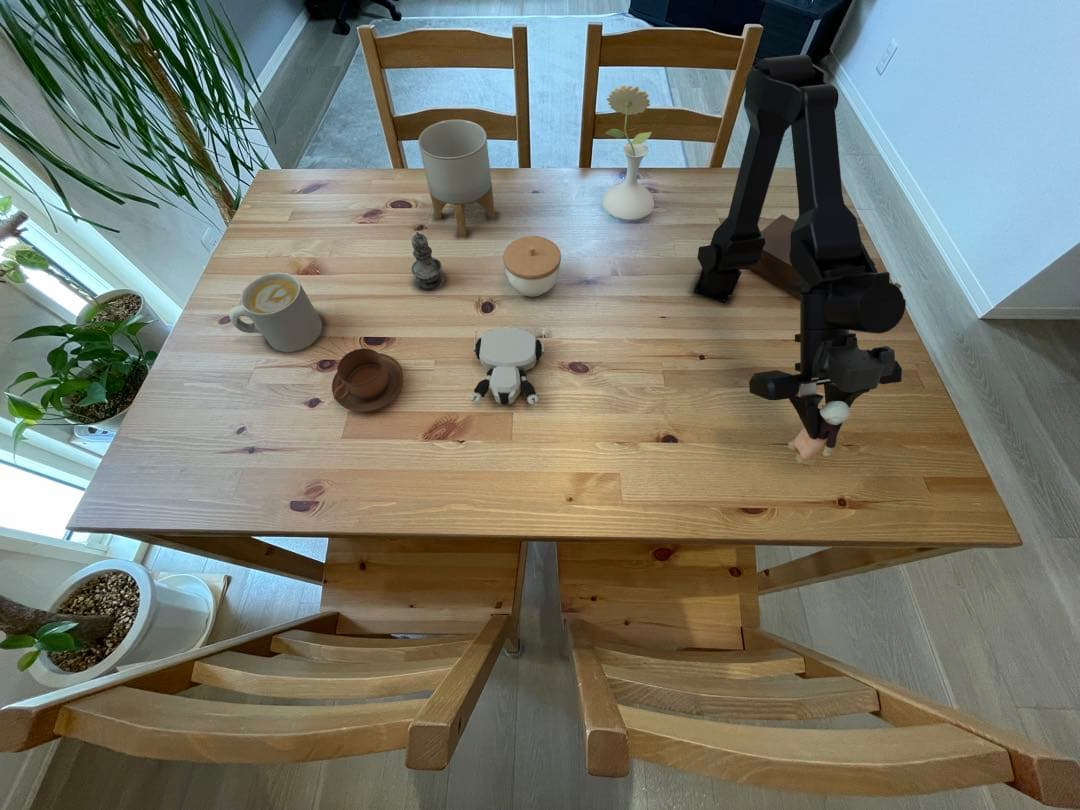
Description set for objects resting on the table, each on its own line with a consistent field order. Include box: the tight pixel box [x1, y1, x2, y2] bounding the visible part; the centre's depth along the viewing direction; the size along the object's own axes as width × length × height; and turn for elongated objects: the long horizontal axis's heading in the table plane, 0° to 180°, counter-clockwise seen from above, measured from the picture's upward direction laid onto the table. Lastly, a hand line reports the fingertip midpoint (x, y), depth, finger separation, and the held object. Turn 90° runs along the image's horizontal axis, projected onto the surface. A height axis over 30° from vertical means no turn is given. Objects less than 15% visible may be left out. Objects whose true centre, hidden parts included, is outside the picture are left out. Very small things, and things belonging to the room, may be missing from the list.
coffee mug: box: [229, 271, 323, 353], centre depth 91 cm, size 13×10×10 cm
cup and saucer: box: [331, 347, 404, 413], centre depth 86 cm, size 12×12×6 cm
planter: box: [417, 119, 496, 237], centre depth 105 cm, size 13×13×18 cm
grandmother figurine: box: [787, 401, 851, 466], centre depth 73 cm, size 8×4×13 cm, turn 25°
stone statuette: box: [410, 231, 444, 292], centre depth 97 cm, size 6×6×12 cm
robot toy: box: [469, 326, 545, 406], centre depth 88 cm, size 12×4×15 cm
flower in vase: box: [601, 84, 655, 222], centre depth 102 cm, size 13×11×25 cm
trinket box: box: [502, 235, 562, 298], centre depth 97 cm, size 11×11×9 cm
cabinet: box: [749, 214, 802, 300], centre depth 100 cm, size 14×12×6 cm
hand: (823, 437), depth 72 cm, fingers closed on grandmother figurine, 3 cm apart
